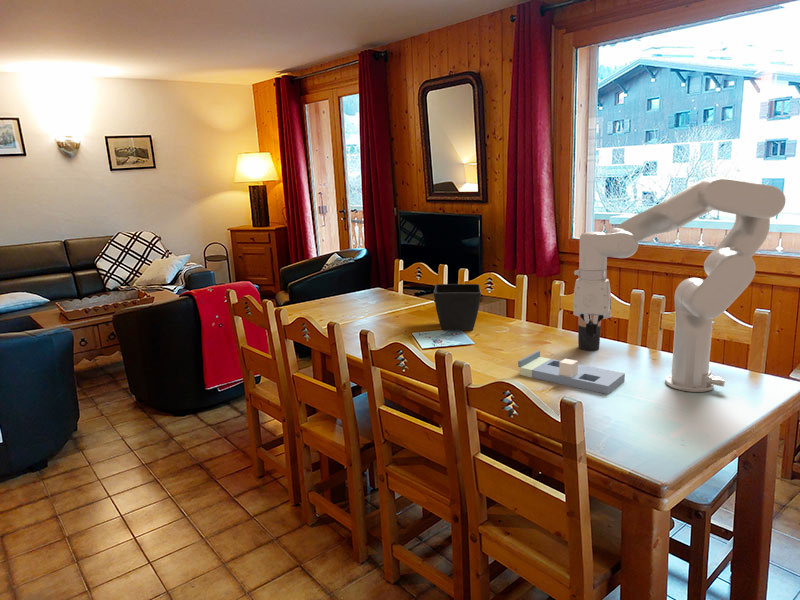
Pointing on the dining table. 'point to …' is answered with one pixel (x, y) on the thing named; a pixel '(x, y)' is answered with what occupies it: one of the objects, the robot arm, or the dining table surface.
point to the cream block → (568, 367)
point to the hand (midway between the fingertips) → (591, 335)
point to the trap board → (584, 379)
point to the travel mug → (583, 338)
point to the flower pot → (457, 305)
